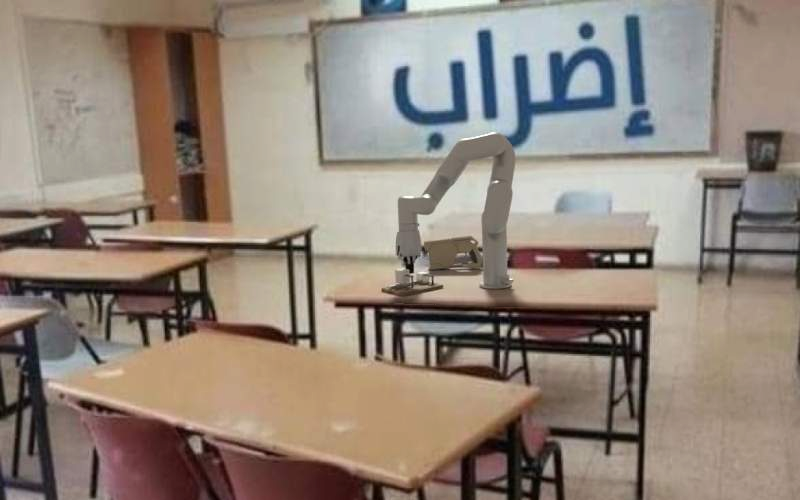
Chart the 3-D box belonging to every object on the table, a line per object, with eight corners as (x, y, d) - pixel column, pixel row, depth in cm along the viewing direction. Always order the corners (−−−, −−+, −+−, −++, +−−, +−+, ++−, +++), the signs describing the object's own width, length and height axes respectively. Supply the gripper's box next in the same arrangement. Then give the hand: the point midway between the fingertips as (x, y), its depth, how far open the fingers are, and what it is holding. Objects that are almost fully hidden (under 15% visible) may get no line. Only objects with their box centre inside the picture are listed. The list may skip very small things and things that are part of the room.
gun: (483, 267, 352) (479, 234, 349) (483, 269, 349) (479, 235, 346) (428, 273, 355) (424, 240, 352) (428, 275, 351) (423, 241, 349)
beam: (436, 283, 318) (436, 274, 317) (399, 291, 306) (399, 282, 306) (423, 280, 324) (423, 271, 324) (386, 288, 313) (386, 279, 312)
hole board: (443, 287, 315) (443, 284, 315) (403, 296, 303) (403, 293, 303) (420, 282, 326) (420, 279, 326) (381, 291, 314) (381, 287, 314)
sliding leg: (417, 286, 311) (416, 270, 310) (409, 288, 309) (408, 272, 308) (403, 283, 318) (403, 268, 317) (395, 285, 316) (395, 269, 315)
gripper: (417, 224, 321) (418, 269, 324) (387, 228, 312) (389, 274, 315) (428, 226, 315) (430, 271, 318) (399, 230, 306) (400, 277, 310)
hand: (409, 272), depth 317 cm, fingers closed
